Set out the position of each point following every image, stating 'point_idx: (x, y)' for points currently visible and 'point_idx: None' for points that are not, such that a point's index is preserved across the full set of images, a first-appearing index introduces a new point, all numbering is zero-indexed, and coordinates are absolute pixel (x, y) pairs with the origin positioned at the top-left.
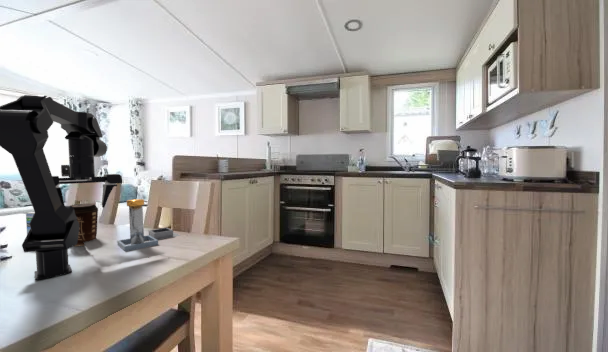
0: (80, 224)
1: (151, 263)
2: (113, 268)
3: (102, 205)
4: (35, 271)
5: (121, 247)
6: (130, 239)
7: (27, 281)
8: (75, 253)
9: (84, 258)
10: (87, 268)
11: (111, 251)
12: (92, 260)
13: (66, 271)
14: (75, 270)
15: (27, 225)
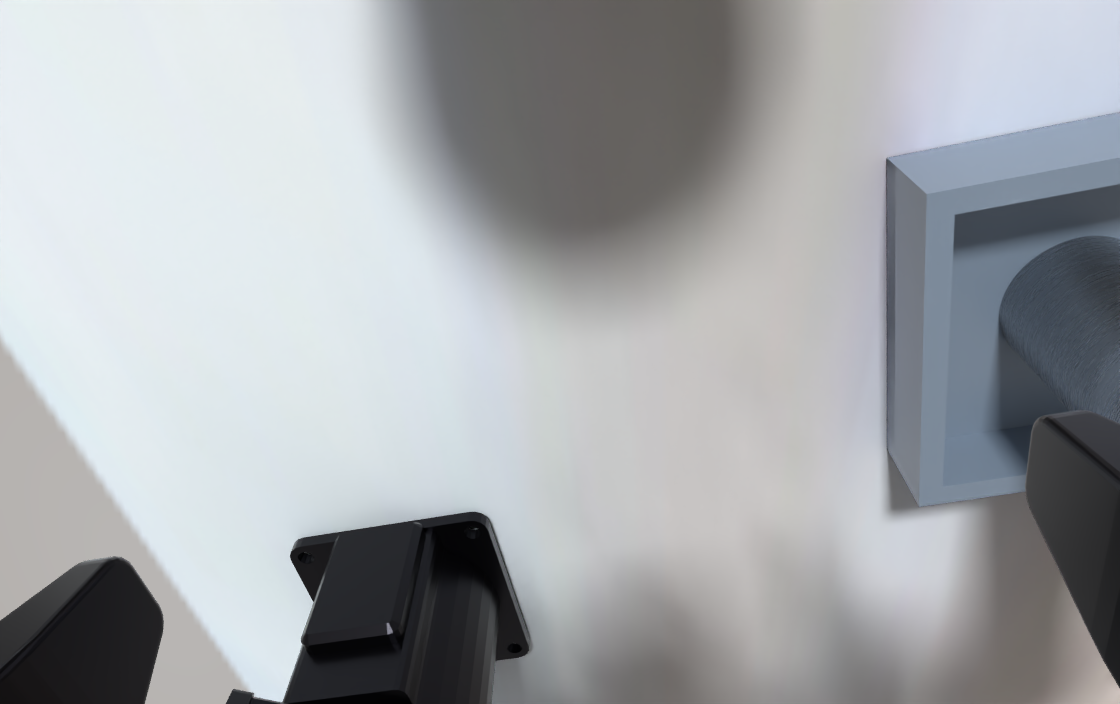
0: None
1: (979, 700)
2: (759, 672)
3: (1060, 512)
4: (294, 555)
5: (906, 373)
6: (1050, 361)
7: None
8: (449, 86)
9: (567, 349)
10: (611, 599)
11: (808, 242)
12: (635, 445)
13: (498, 647)
14: (541, 598)
15: None
